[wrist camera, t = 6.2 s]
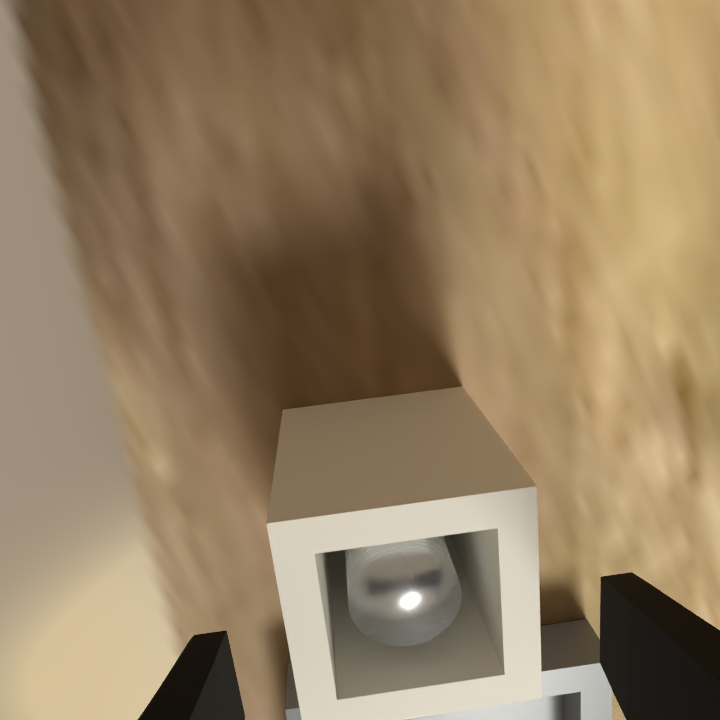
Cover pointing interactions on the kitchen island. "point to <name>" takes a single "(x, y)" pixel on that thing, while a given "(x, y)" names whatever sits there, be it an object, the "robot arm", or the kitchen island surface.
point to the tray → (559, 682)
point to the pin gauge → (402, 590)
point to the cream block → (397, 524)
